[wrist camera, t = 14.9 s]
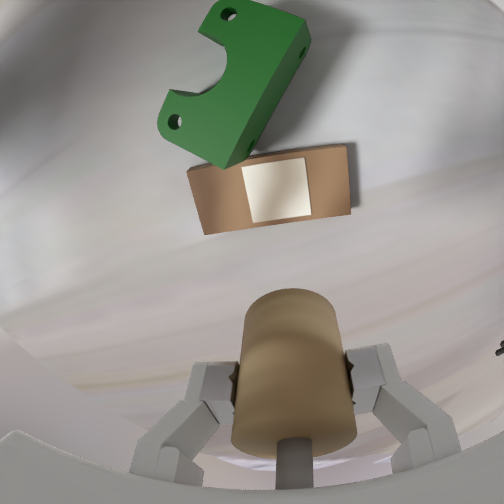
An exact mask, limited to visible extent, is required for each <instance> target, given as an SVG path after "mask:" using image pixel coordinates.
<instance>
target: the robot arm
mask: <svg viewBox="0 0 504 504" xmlns="http://www.w3.org/2000/svg"><path fill="white" fill-rule="evenodd" d="M344 357H345V363H346V368H347V373H348V378H349V385H350V390H351V396H352V402H353V408H354V414H355V415H356V414H362V413H368V412H373V414H374V415H375V416H376V417H377V418H378V419H379V420H380V421H381V422H382V423H383V425H384V426H385V427H386V428H387V429H388V430H389V431H390V432H391V433H392V434H393V435H394V436H395V437H396V439H397V440H398V441H399V442H400V443H401V445H400V447H399V448H398V449H397V451H396V452H395V453H394V454H393V456H392V457H391V465H392V472H393V474H391V475H387V476H383V477H379V478H374V479H369V480H364V481H359V482H353V483H347V484H340V485H333V486H325V487H316V488H304V489H287V490H240V489H223V488H212V487H202V483H203V476H204V471H203V469H202V468H200V467H199V466H198V465H196V464H195V463H194V462H193V461H192V460H193V459H194V458H195V456H196V455H197V454H198V453H199V452H200V450H201V449H202V448H203V447H204V445H205V444H206V443H207V442H208V440H209V439H210V438H211V437H212V435H213V434H214V433H215V431H216V430H217V429H218V427H219V426H220V425H228V424H233V418H234V409H235V401H236V392H237V383H238V374H239V366H240V365H239V363H238V361H235V362H195V363H194V365H193V367H192V371H191V375H190V379H189V383H188V387H187V391H186V395H185V399H184V400H180V401H179V402H178V403H177V404H176V405H175V406H174V407H173V408H172V409H171V410H170V411H169V412H168V413H167V414H166V415H165V416H164V417H163V418H162V419H161V420H160V421H159V422H157V423H156V424H155V425H154V426H153V427H152V428H151V429H150V430H149V431H148V432H147V433H146V434H145V435H144V436H143V437H142V438H140V439H139V440H138V442H137V446H136V449H135V453H134V456H133V460H132V463H131V467H130V471H129V473H127V472H124V471H121V470H117V469H113V468H110V467H107V466H104V465H101V464H97V463H94V462H91V461H89V460H86V459H83V458H81V457H78V456H75V455H73V454H70V453H67V452H65V451H63V450H60V449H58V448H56V447H53V446H51V445H49V444H47V443H45V442H42V441H40V440H38V439H36V438H34V437H32V436H30V435H28V434H26V433H25V432H22V431H20V430H14V431H12V432H10V433H9V434H7V435H6V436H4V437H3V438H1V439H0V504H504V431H502V432H501V433H499V434H497V435H495V436H493V437H491V438H489V439H487V440H485V441H483V442H481V443H479V444H477V445H474V446H472V447H470V448H468V449H465V450H463V451H461V447H460V444H459V440H458V436H457V433H456V430H455V426H454V423H453V420H452V417H451V416H450V415H448V414H447V413H446V412H444V411H443V410H442V409H441V408H439V407H438V406H437V405H436V404H434V403H433V402H432V401H431V400H429V399H428V398H427V397H426V396H424V395H423V394H422V393H421V392H419V391H418V390H417V389H416V388H414V387H413V386H412V385H411V384H409V383H408V382H407V381H401V378H400V375H399V372H398V368H397V365H396V362H395V359H394V356H393V353H392V350H391V347H390V345H389V344H388V343H384V344H379V345H374V346H373V345H371V346H366V347H361V348H355V349H349V350H345V354H344Z"/></svg>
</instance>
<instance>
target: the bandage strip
mask: <svg viewBox="0 0 504 504" xmlns="http://www.w3.org/2000/svg"><path fill="white" fill-rule="evenodd" d="M187 176H188V179H189V183H190V187H191V190H192V194H193V197H194V201H195V204H196V208H197V211H198V215H199V218H200V222H201V225H202V228H203V232H204V235H209V234H215V233H222V232H228V231H235V230H241V229H248V228H255V227H262V226H269V225H276V224H283V223H290V222H297V221H304V220H312V219H319V218H327V217H334V216H342V215H350V214H351V206H350V187H349V172H348V160H347V149H346V146H345V145H344V144H336V145H326V146H317V147H308V148H300V149H293V150H285V151H278V152H272V153H265V154H259V155H253V156H248V157H247V159H246V160H245V161H243V162H241V163H239V164H236V165H234V166H232V167H230V168H227V169H225V170H223V169H221V168H219V167H217V166H215V165H213V164H212V163H210V164H206V165H201V166H196V167H192V168H189V169H188V171H187Z"/></svg>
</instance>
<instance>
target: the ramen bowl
mask: <svg viewBox="0 0 504 504" xmlns="http://www.w3.org/2000/svg"><path fill="white" fill-rule="evenodd" d="M500 345H501V347H503V348H500V349H498V350H496V352H495V354H496V356H499V355H501V354H503V353H504V341H502V342H501V343H500Z"/></svg>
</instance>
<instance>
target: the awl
mask: <svg viewBox="0 0 504 504" xmlns="http://www.w3.org/2000/svg"><path fill="white" fill-rule="evenodd" d="M356 436H357V428H356V421H355V414H354V408H353V402H352V396H351V390H350V385H349V378H348V373H347V368H346V363H345V357H344V352H343V347H342V342H341V337H340V332H339V328H338V323H337V318H336V314H335V310H334V308H333V306H332V305H331V303H330V302H329V301H328V300H327V299H326V298H324V297H323V296H321V295H319V294H318V293H315V292H313V291H309V290H305V289H295V288H290V289H282V290H277V291H273V292H271V293H268V294H266V295H264V296H262V297H260V298H259V299H257V300H256V301H255V302H254V303H253V304H252V305H251V306H250V308H249V309H248V311H247V313H246V316H245V322H244V331H243V339H242V348H241V357H240V366H239V374H238V383H237V392H236V401H235V409H234V418H233V427H232V436H231V442H232V444H233V445H234V446H235V447H236V448H237V449H239V450H240V451H242V452H245V453H247V454H250V455H253V456H257V457H262V458H269V459H276V489H275V490H287V489H304V488H313V457H317V456H321V455H325V454H329V453H332V452H335V451H337V450H339V449H342V448H343V447H345V446H347V445H348V444H350V443H351V442H352V441H353V440H354V439H355V438H356Z"/></svg>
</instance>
